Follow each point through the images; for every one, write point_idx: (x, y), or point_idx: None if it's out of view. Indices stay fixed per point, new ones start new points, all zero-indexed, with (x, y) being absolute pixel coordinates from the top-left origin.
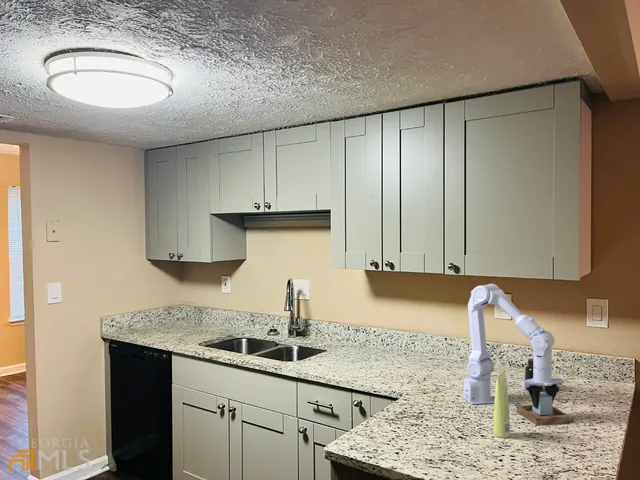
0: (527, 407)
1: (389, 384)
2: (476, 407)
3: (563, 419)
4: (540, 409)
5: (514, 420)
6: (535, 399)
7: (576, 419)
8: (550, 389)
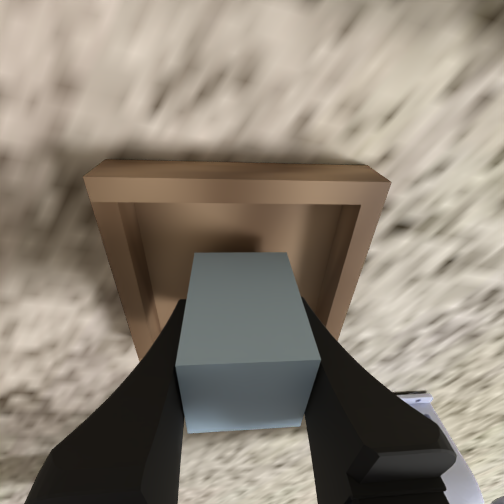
0: None
1: (491, 479)
2: (435, 375)
3: (152, 168)
4: (290, 277)
5: (420, 252)
6: (341, 351)
7: (26, 207)
8: (162, 466)
